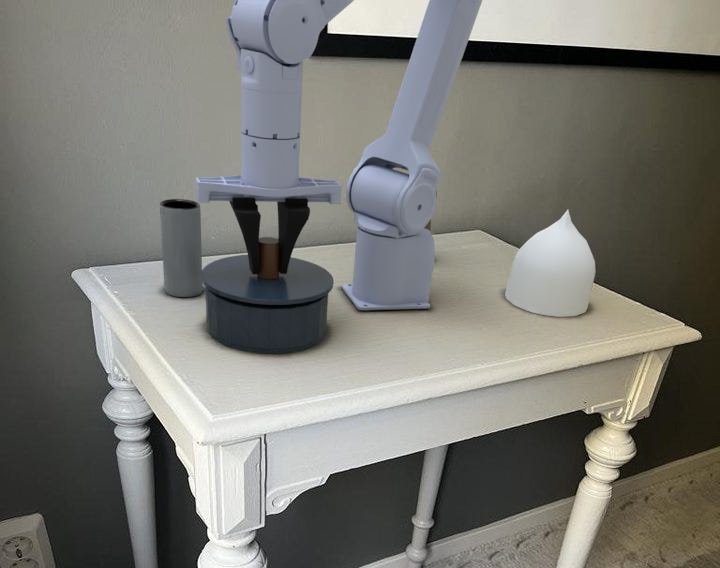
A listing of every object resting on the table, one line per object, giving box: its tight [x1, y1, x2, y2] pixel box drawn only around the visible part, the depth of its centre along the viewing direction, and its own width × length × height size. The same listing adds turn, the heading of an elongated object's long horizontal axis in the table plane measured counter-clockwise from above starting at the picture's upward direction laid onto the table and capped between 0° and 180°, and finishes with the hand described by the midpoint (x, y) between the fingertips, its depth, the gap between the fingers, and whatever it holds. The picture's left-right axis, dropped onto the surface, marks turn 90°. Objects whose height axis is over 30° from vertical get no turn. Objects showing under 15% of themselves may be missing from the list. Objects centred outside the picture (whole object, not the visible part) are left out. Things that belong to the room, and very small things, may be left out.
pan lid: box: [201, 236, 335, 305], centre depth 78 cm, size 14×14×5 cm
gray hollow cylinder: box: [159, 198, 204, 298], centre depth 87 cm, size 4×4×10 cm
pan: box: [204, 285, 329, 355], centre depth 81 cm, size 13×13×5 cm
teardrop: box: [504, 209, 596, 318], centre depth 95 cm, size 11×11×12 cm
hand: (268, 271), depth 79 cm, fingers closed on pan lid, 2 cm apart
